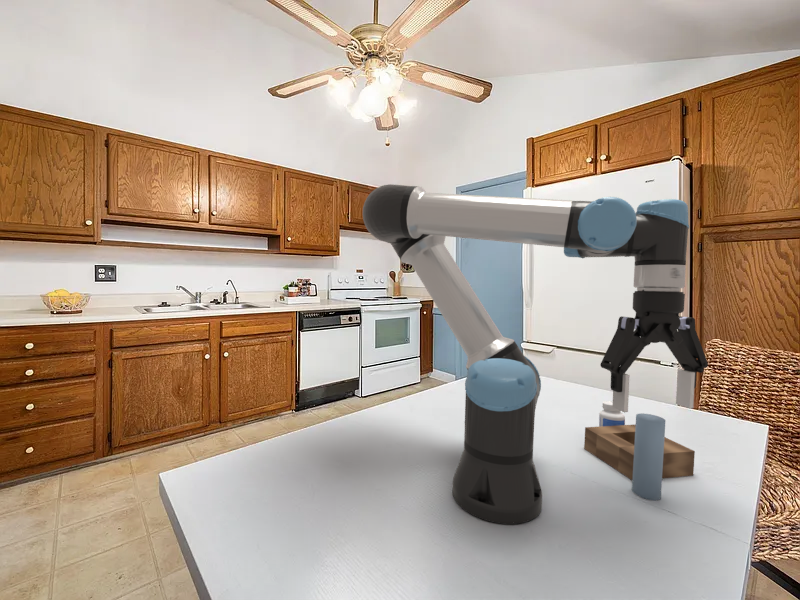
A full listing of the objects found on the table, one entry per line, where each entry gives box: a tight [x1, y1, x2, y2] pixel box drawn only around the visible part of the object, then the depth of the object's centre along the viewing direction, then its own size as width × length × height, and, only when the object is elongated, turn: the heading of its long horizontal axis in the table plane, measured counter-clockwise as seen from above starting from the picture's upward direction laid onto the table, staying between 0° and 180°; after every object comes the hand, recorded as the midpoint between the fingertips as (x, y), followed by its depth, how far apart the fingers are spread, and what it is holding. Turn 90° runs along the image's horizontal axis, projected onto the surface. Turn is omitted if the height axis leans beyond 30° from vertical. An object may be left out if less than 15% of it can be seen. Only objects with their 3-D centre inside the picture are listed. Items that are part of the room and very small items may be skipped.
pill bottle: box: [598, 400, 626, 427], centre depth 89 cm, size 6×5×10 cm
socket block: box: [583, 423, 696, 481], centre depth 80 cm, size 14×14×5 cm
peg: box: [631, 413, 666, 501], centre depth 67 cm, size 4×4×14 cm
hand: (652, 408), depth 66 cm, fingers open, 13 cm apart
